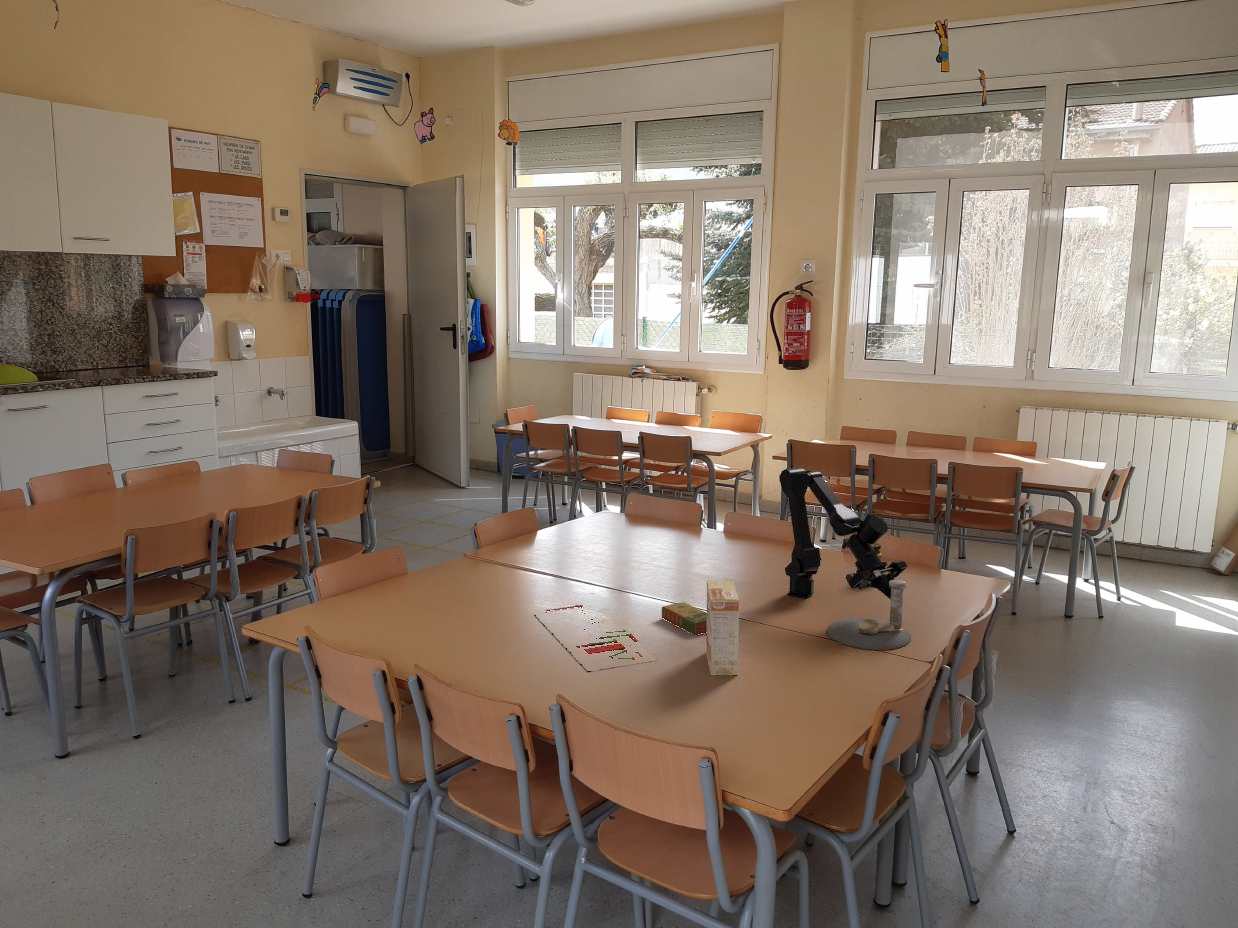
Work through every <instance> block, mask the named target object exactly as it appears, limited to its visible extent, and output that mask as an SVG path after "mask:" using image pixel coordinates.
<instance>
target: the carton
mask: <svg viewBox="0 0 1238 928" xmlns="http://www.w3.org/2000/svg"><path fill="white" fill-rule="evenodd" d="M662 618H664V619H665V620H667V621H669V622H671V623H672V624H674V625H677V626H679V627H680V628H683V629H685V630H686V631H688V632H690V633H692V634H693V635H698V634H701V633H706V632H707V611H706V612H705V611H704V610H703V609H699V608H697V607H696V606H693V605H691V604H689V603H687V602H685V601H683V602H678V603H677V602H676V603H673V604H669V605H664V606H661V619H662ZM672 624H671V625H672ZM674 625H673V626H674ZM680 628H679V629H680ZM686 631H685V632H686ZM706 634H707V633H706ZM693 635H692V636H693ZM698 636H699V635H698Z"/></svg>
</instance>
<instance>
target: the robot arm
mask: <svg viewBox="0 0 1238 928" xmlns="http://www.w3.org/2000/svg"><path fill="white" fill-rule="evenodd" d="M778 479H779V484H780V486H781V487H780V488H781V490H782V492H783V493H784V495H785V496H786V498H787V500H788V505H789V511H790V512H789V513H790V517H791V526H792V532H793V539H794V547H793V549H792V551H791V562H789V564H788V565H786V567H784V571H785V575H786V576H787V577H789V591H788V592H787V596H793V597H798V598H806V599H807V598H809V597H810V596H811V595H813V594H814V593H815V592H814V591H815V590H814V586H815V584H814V583H815V581H814V579H813V575H814V576H815V575H817V573H818V570H819V568H820V567H821V561H822V557H821V551H820V548H819V546H818V547H817V546H815V545H814V544H813V541H812V538H811V532H810V531H811V530H810V525H809V524H810V523H809V517H808V512H807V511H808V510H807V504H806V503H807V502H806V493H807V491H808V488H809V490H810V491H811V492H812V494H813V495H814V497H815V498H816V500H818V502H819V504H821V506H822V507H823V509H824V510H825V512H826V513H827V514H828V517H829V519H828V521H829V525H830V527H831V528H832V531H833V532H834V533H835V535H837V536H838V537H845V536H846V537H847V536H849V537H848V538H844V539H843V540H842V541H843V542H842V545H841V548H842V549H843V550H845V549H849V550H850V552H851V554H852V555H853V556H854V558H855V560H856V561H855V562H854V565H855V568H856V571H853V573H852V572H850V573H847V574H846V576H845V580H846V582H847V584H848V586H849V587H850V589H851V590H855V589H857V590H859V591H860V590H862V589H867V588H873V589H877V590H878V591H879V592H880V593H882V594H883V595H884V596H886V597H887V598H888V599H890V601H891V587H889V581H891V580H895V578H898V577H899V576H900V575H901V574H902V573H903V572H904V571H905V570H907V569H908V567H909V566H908V565H907V563H906V561H905V560H902V559H900V560H896V561H892V562H891V563H890V564H888V563H887V561H881V559H880V558H879V556H878V555H877V554H878V553H879V550H878V549H877V550H874V548H873V547H872V545H871V544H875V543H877V542H878V541H879V540H880V539H882V537H884V535H885V534H886V533H887V532H888V530H889V527H888V524H887V523H886V521H884V520H883V519H882V518H880V517H878V516H876V515H875V514H874V513H870V514H868V515H866V517H865V518H864V519H861V518H860V517H859V516H858V514H856V513H855V512H854V511H853V509H850V508H848V507H847V506H845V505H844V504H843V503H842V502H841V501H840V499H839V498H838V496H837V495H836V494H835V492H834V490H832V488H831V487H830V486H829V484H828V483H827V482H826V481H825V479H824V477H823V474H822V472H819V471H816V470H815V471H813V470H806V469H804V468H803V467H795V468H794V467H793V468H786V469H783V470H782V471H781V472H780V474H779V476H778ZM886 566H887V567H886Z"/></svg>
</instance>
